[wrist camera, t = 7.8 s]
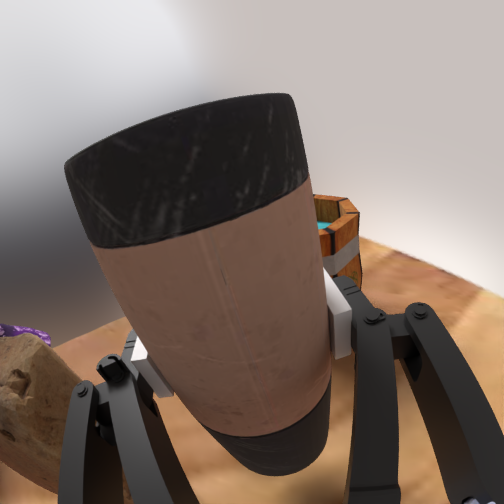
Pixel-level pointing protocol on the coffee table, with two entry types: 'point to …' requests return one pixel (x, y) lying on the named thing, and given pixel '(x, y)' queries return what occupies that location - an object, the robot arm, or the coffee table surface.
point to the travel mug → (220, 268)
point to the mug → (339, 236)
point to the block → (35, 409)
